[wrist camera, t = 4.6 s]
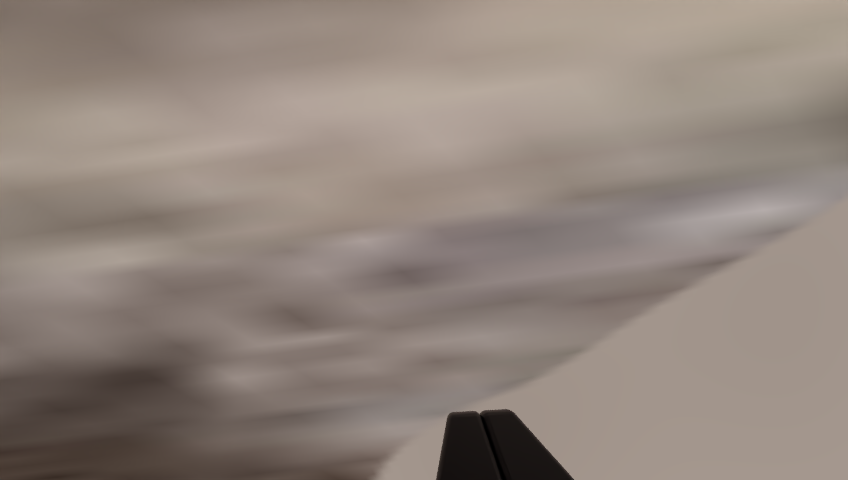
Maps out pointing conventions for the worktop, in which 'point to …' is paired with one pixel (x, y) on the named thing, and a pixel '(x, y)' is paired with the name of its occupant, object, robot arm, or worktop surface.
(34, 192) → the worktop surface
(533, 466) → the robot arm
